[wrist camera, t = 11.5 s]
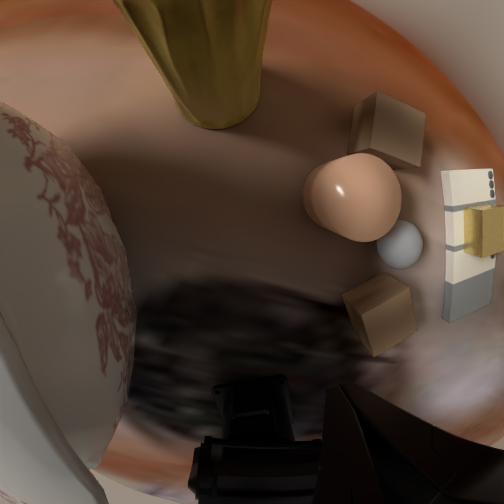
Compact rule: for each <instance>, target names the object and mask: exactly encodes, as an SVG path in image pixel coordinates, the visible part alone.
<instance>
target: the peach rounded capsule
mask: <svg viewBox="0 0 504 504" xmlns="http://www.w3.org/2000/svg"><path fill="white" fill-rule="evenodd" d="M303 202H304V206H305V209H306V211H307V213H308V215H309V216H310V218H311V219H312V220H313V221H314V222H315V223H317V224H318V225H320V226H321V227H324V228H326V229H328V230H330V231H333V232H335V233H337V234H339V235H342V236H344V237H346V238H348V239H351V240H354V241H358V242H369V241H373V240H376V239H379V238H381V237H382V236H384V235H385V234H386V233H387V232H389V230H390V229H391V228H392V227H393V225H394V224H395V222H396V220H397V218H398V216H399V213H400V209H401V202H402V196H401V188H400V184H399V181H398V179H397V177H396V175H395V173H394V171H393V170H392V169H391V167H390V166H389V165H388V164H387V163H386V162H384V161H383V160H382V159H380V158H378V157H376V156H374V155H371V154H366V153H357V154H352V155H349V156H345V157H342V158H339V159H335V160H332V161H329V162H326V163H323V164H321V165H319V166H317V167H316V168H314V169H313V170H312V171H311V173H310V174H309V175H308V177H307V178H306V181H305V183H304V187H303Z"/></svg>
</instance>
